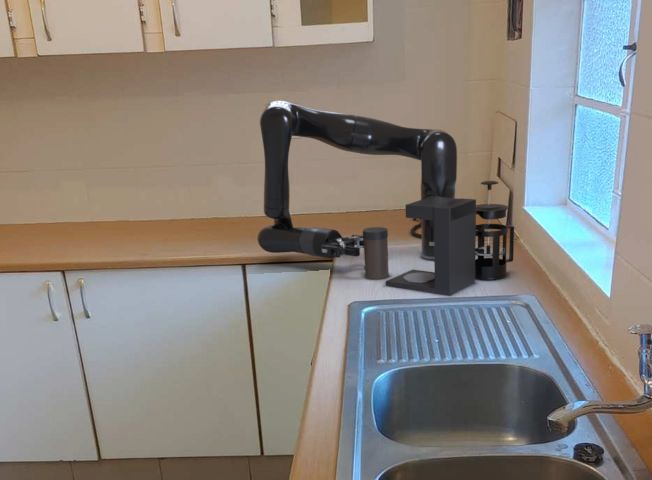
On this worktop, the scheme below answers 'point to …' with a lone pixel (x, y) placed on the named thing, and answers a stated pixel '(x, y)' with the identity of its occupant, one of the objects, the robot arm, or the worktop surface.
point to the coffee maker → (444, 246)
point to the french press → (494, 265)
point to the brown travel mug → (376, 252)
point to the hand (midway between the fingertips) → (369, 248)
